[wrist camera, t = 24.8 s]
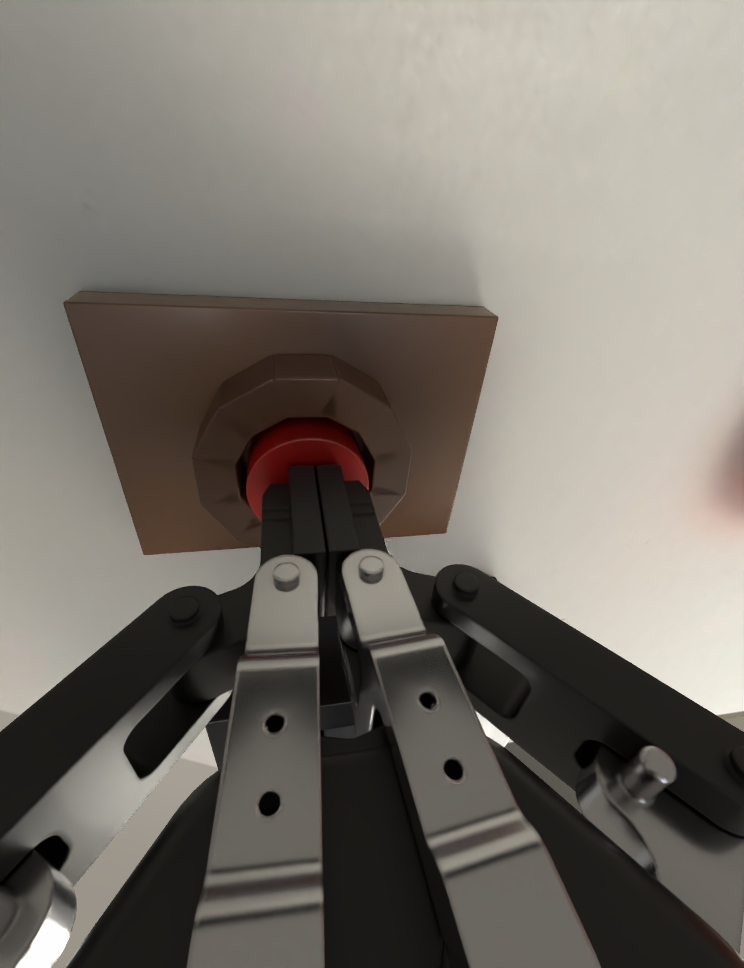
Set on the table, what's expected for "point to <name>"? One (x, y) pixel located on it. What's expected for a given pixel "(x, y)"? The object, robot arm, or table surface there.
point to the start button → (300, 454)
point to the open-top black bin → (322, 695)
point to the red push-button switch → (277, 401)
